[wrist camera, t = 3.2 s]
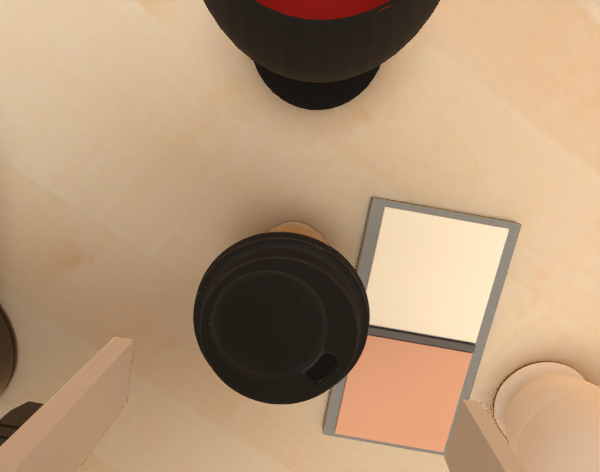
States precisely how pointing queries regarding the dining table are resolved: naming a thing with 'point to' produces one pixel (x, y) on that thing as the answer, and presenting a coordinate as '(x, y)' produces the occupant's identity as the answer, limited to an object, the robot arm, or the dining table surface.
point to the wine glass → (320, 42)
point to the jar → (551, 418)
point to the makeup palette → (420, 323)
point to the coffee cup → (281, 315)
